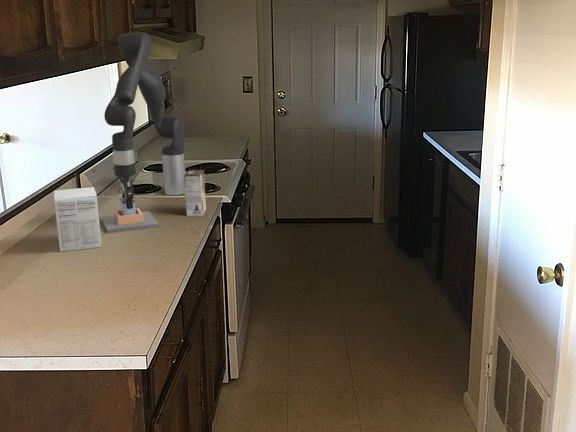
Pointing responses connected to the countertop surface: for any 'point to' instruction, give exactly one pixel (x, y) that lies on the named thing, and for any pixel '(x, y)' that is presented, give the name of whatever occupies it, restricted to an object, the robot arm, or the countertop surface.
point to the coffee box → (195, 192)
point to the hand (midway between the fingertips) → (127, 205)
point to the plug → (124, 208)
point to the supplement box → (77, 219)
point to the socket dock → (128, 221)
